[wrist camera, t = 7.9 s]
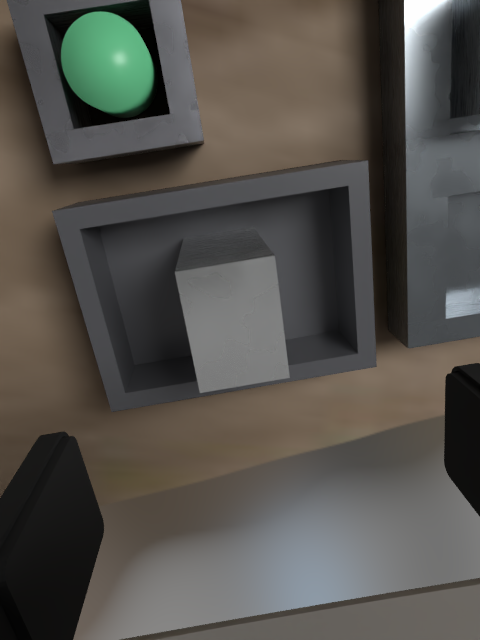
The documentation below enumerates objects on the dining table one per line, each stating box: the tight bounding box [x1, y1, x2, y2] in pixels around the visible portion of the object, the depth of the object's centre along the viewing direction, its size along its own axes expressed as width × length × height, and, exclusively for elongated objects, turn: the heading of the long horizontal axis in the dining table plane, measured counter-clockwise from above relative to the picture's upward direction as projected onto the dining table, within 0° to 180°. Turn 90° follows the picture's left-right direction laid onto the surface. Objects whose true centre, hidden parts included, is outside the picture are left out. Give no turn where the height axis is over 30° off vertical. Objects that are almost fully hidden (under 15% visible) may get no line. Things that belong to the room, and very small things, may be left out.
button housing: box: [7, 0, 204, 164], centre depth 21 cm, size 7×7×4 cm
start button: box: [61, 11, 158, 118], centre depth 20 cm, size 4×4×4 cm
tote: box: [52, 160, 376, 412], centre depth 24 cm, size 11×15×4 cm
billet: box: [175, 227, 290, 393], centre depth 22 cm, size 6×4×8 cm
